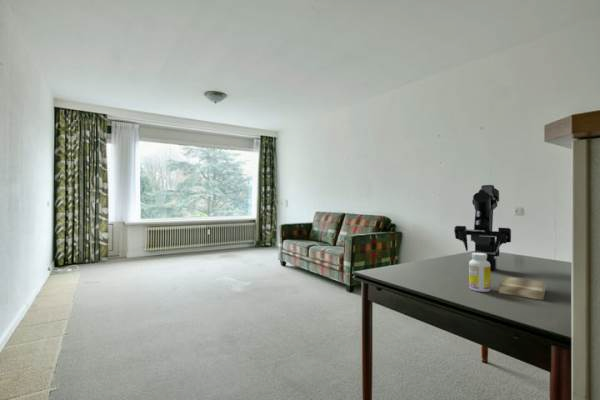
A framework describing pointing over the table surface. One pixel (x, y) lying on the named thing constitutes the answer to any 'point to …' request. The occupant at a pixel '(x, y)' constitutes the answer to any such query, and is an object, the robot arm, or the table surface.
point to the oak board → (523, 287)
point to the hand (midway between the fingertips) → (480, 251)
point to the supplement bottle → (479, 273)
